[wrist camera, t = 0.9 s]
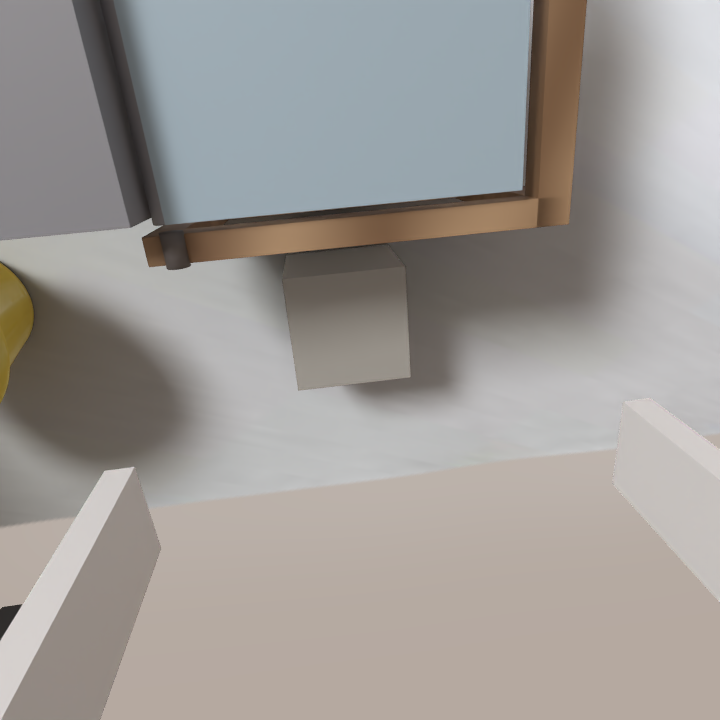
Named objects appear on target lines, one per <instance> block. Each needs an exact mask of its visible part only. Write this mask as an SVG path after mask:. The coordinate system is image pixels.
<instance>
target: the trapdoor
mask: <svg viewBox="0 0 720 720" xmlns="http://www.w3.org/2000/svg"><path fill="white" fill-rule="evenodd" d="M530 3H531V0H0V240H10V239H20V238H30V237H40V236H51V235H61V234H71V233H81V232H92V231H102V230H112V229H122V228H131V227H133V226H135V225H137V224H139V223H141V222H143V221H145V220H147V219H149V218H152V222H153V225H155V226H160V225H172V224H182V223H192V222H202V221H213V220H223V219H233V218H243V217H253V216H264V215H274V214H284V213H294V212H305V211H315V210H325V209H335V208H345V207H356V206H366V205H376V204H386V203H397V202H407V201H417V200H427V199H437V198H448V197H458V196H468V195H478V194H489V193H499V192H509V191H519V190H522V188H523V165H524V142H525V119H526V95H527V72H528V49H529V26H530Z"/></svg>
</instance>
